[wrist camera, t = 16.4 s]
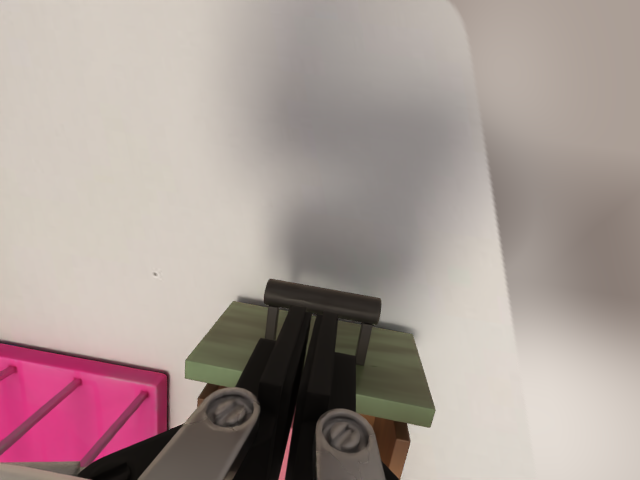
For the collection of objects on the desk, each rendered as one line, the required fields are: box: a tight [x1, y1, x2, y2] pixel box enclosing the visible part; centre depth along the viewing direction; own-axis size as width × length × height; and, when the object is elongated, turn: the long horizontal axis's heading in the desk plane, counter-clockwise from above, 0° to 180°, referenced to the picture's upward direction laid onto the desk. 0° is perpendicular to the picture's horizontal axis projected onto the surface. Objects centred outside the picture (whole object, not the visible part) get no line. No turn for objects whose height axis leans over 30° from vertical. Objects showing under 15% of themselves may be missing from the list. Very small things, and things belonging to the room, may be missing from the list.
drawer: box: [185, 279, 435, 479], centre depth 22 cm, size 19×13×7 cm
